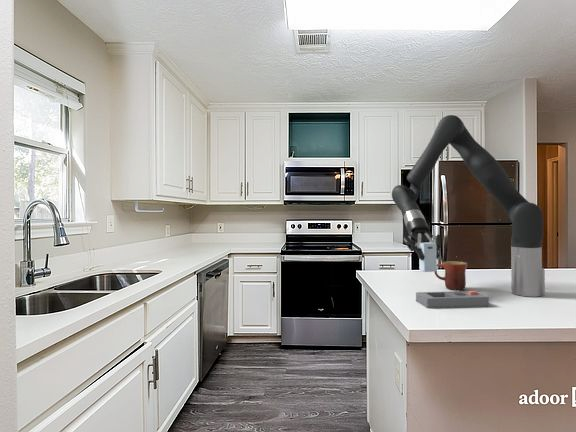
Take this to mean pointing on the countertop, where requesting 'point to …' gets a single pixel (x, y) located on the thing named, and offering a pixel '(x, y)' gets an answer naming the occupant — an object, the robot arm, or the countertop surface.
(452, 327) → the countertop surface
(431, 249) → the block
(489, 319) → the countertop surface
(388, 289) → the countertop surface
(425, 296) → the power strip
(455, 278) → the mug
